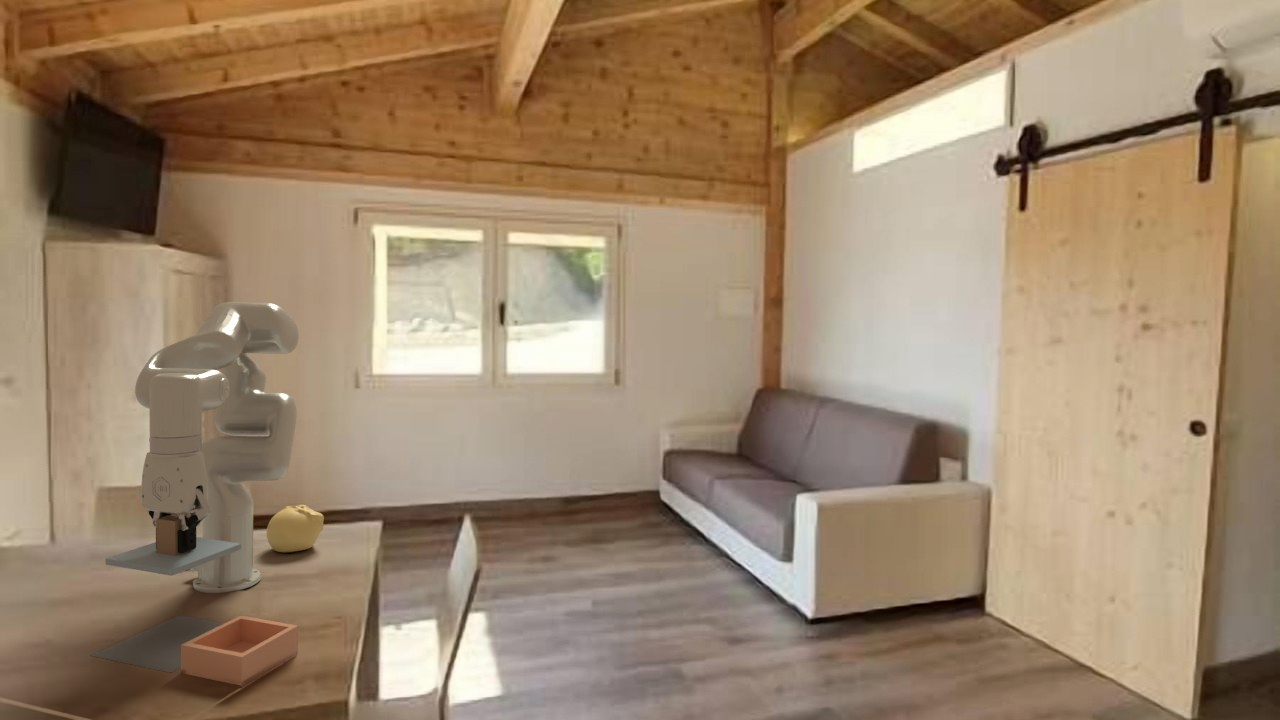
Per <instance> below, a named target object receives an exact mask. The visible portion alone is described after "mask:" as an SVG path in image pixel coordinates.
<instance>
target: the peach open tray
mask: <svg viewBox="0 0 1280 720" xmlns="http://www.w3.org/2000/svg"><path fill="white" fill-rule="evenodd" d="M298 642H299V625H298V624H291V623H285V622H279V621H275V620H274V621H273V620H270V619H269V620H268V619H263V618H257V617H252V616H247V615H239V616H236V617H235V618H233V619H231V620H229V621H227V622H225V623H224V624H223V625H221V626H219V627H216V628H214V629H212V630H210V631H208V632H206V633H204V634H202V635H200V636H198V637H196V638H194V639H192V640H190V641H188V642H186V643H184V644H182V645H181V668H180V673H181V674H184V675H189V676H193V677H199V678H203V679H208V680H213V681H217V682H218V681H219V682H223V683H227V684H231V685H235V686H236V685H237V686H239V689H243V688H245V687H246V686H248V685H250V684H252V682H254V681H256V680H259V678H261V677H262V676H265V675H266V674H268V673H269V672H271V671H273V670H274V669H276V668H277V667H279V666H281V665H282V664H284V663H286V662H287V661H289V660H290V659H291V658H294V657H295V656H297V655H299V654H298V653H299V652H298V649H299V647H298V646H299V643H298Z"/></svg>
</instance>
